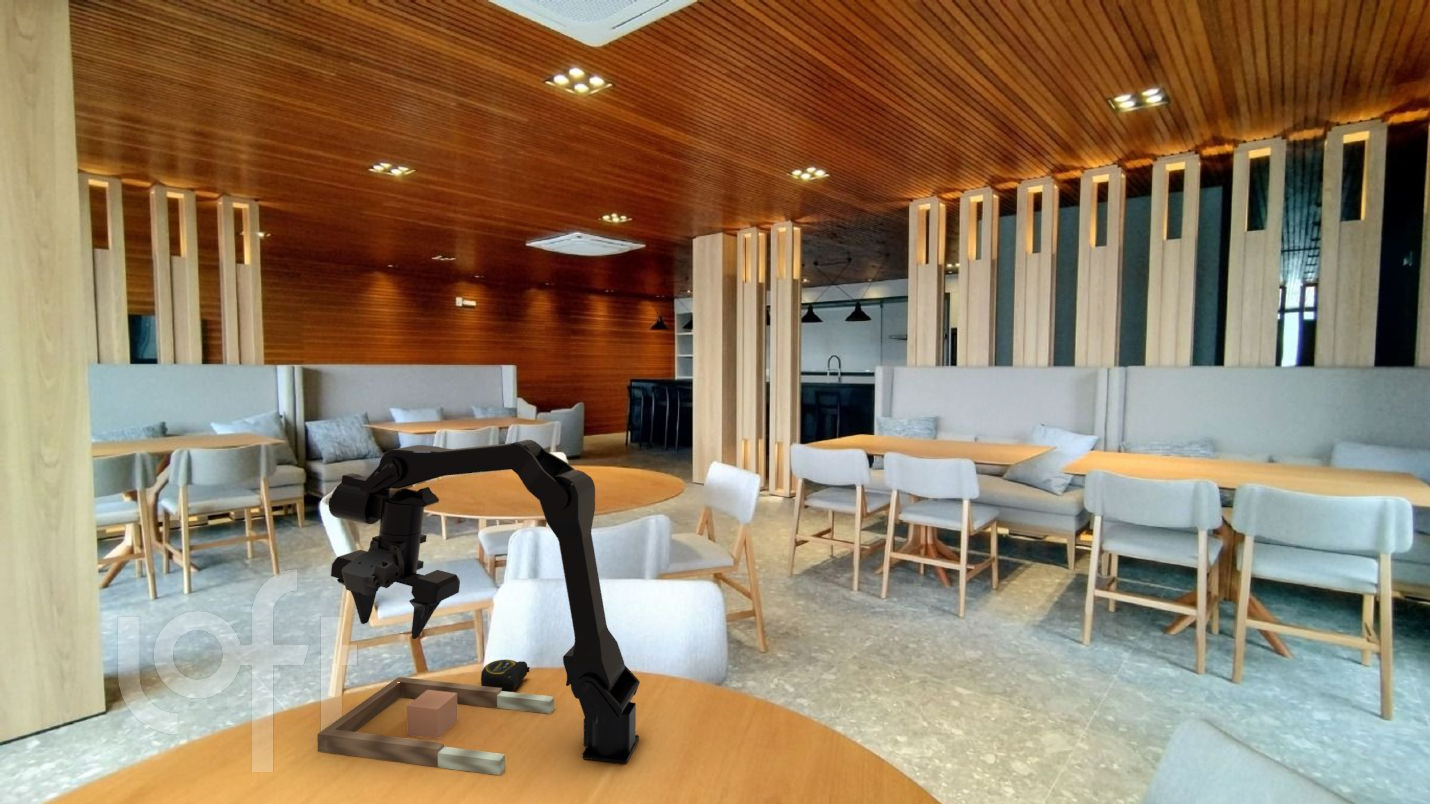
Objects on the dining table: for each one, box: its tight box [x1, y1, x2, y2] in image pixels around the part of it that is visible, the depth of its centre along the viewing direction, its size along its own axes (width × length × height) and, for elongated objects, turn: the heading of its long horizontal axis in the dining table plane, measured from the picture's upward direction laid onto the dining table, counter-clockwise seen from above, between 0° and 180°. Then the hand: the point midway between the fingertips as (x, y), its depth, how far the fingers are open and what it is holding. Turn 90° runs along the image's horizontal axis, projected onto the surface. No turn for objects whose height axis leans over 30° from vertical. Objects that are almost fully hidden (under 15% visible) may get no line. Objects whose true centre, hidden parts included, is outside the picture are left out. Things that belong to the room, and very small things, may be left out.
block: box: [406, 690, 458, 740], centre depth 99 cm, size 5×5×4 cm
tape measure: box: [480, 659, 531, 692], centre depth 112 cm, size 7×7×4 cm
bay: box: [316, 676, 555, 776], centre depth 99 cm, size 28×18×2 cm, turn 80°
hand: (389, 630), depth 100 cm, fingers open, 9 cm apart
